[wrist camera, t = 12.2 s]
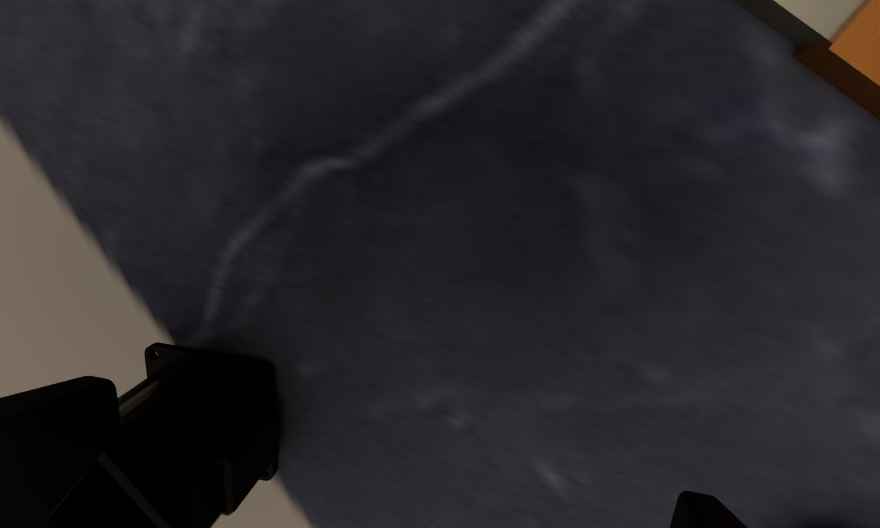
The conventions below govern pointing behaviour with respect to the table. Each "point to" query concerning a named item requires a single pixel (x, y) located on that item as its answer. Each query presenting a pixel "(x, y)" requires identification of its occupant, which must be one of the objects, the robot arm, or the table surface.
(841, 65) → the ratchet
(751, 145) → the table surface
